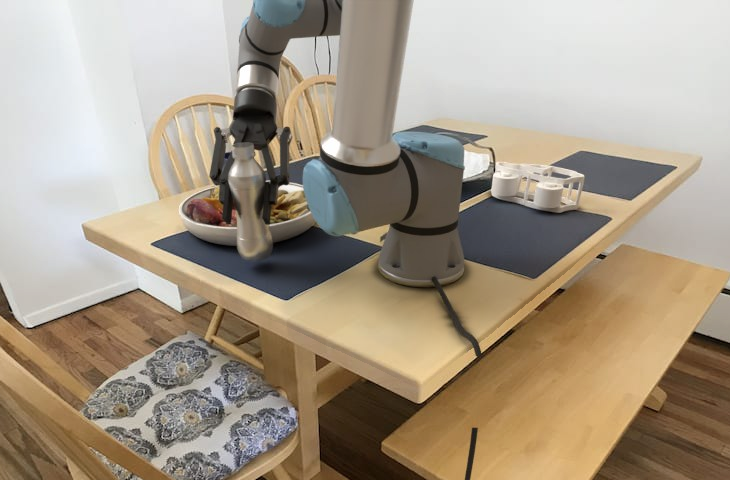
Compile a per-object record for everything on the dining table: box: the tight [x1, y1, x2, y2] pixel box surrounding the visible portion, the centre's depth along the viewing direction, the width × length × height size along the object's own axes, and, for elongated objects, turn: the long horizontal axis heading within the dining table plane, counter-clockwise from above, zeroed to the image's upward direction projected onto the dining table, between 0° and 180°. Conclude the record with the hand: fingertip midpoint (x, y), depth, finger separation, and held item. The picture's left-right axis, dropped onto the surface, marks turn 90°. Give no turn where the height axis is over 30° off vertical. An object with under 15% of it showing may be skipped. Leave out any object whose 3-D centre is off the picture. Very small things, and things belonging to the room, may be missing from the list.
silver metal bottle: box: [228, 142, 274, 262], centre depth 95 cm, size 6×7×20 cm
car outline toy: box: [490, 161, 585, 214], centre depth 125 cm, size 20×11×7 cm, turn 42°
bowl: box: [178, 180, 317, 247], centre depth 117 cm, size 30×30×8 cm
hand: (246, 221), depth 92 cm, fingers closed on silver metal bottle, 6 cm apart
